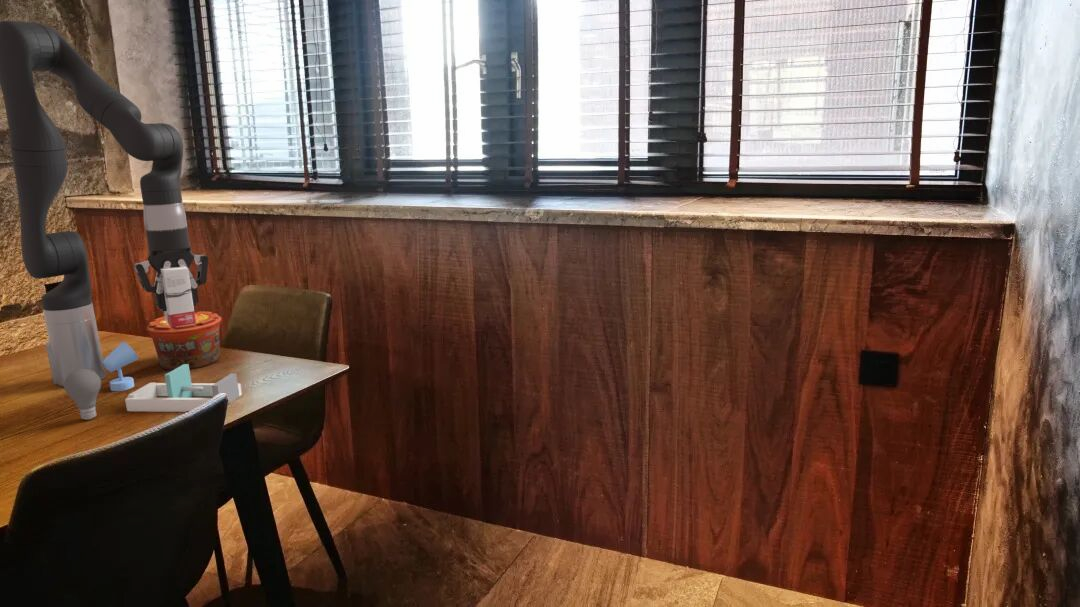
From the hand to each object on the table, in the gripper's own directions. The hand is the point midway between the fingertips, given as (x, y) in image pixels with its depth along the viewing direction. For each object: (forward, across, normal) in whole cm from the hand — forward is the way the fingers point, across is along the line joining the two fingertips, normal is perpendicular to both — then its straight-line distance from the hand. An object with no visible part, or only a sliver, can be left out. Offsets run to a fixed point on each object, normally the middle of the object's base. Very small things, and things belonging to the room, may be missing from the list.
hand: (178, 307), depth 150 cm
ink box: (+3, 0, 0) cm, 3 cm away
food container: (+19, +6, +21) cm, 29 cm away
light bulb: (+18, -19, -2) cm, 27 cm away
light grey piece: (+18, -3, -7) cm, 20 cm away
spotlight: (+18, -10, +13) cm, 25 cm away
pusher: (+18, -2, -8) cm, 19 cm away
